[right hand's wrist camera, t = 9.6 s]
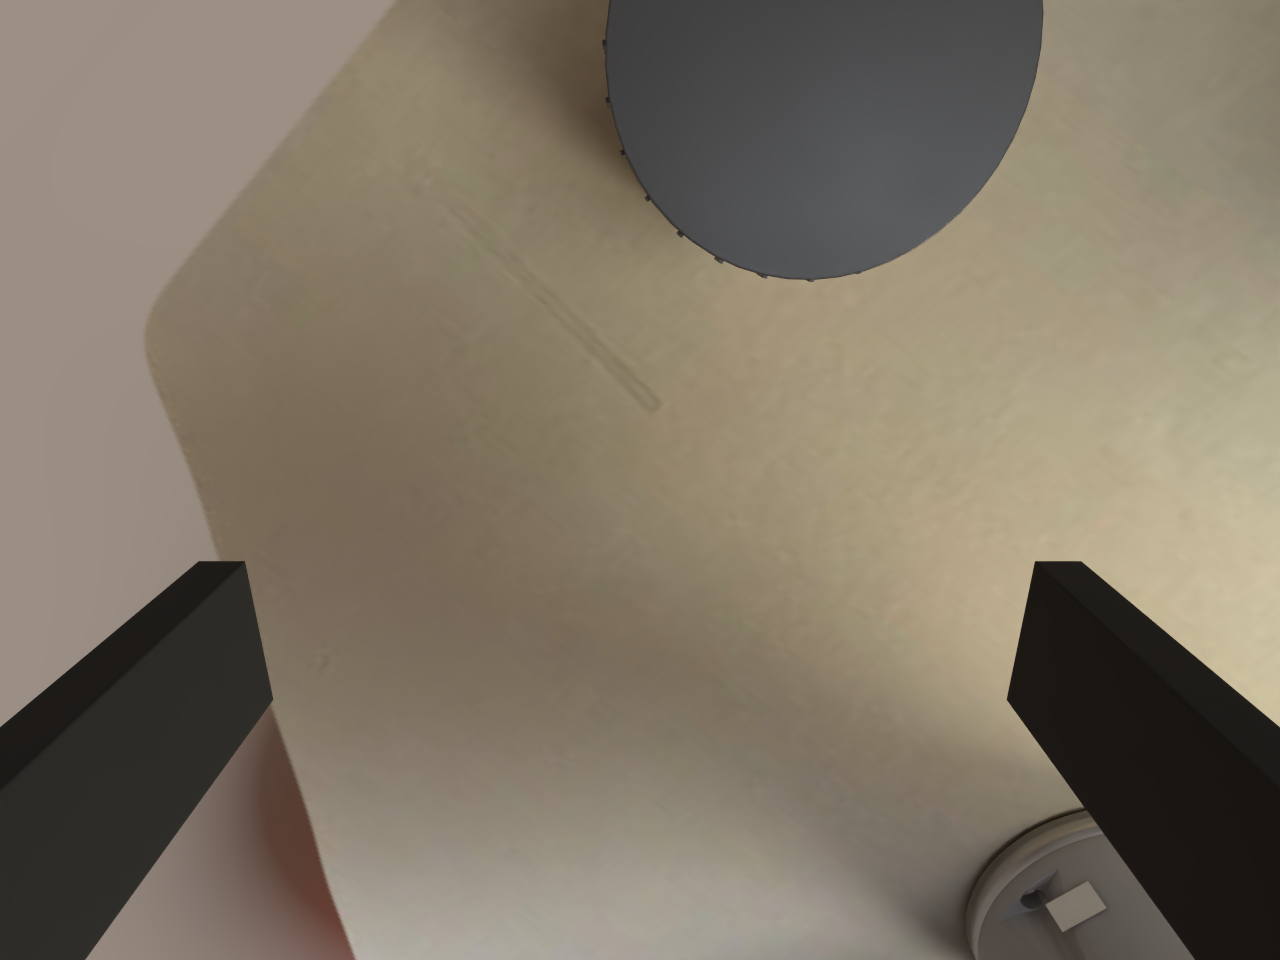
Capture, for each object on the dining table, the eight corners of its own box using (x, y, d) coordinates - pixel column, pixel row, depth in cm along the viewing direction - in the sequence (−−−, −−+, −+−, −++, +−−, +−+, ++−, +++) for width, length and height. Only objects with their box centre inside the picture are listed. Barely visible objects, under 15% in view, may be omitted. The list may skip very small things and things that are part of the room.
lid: (568, -131, 16) (561, -165, 15) (1012, -224, 16) (1050, -269, 14) (641, 305, 19) (640, 313, 18) (1013, 240, 19) (1046, 243, 17)
